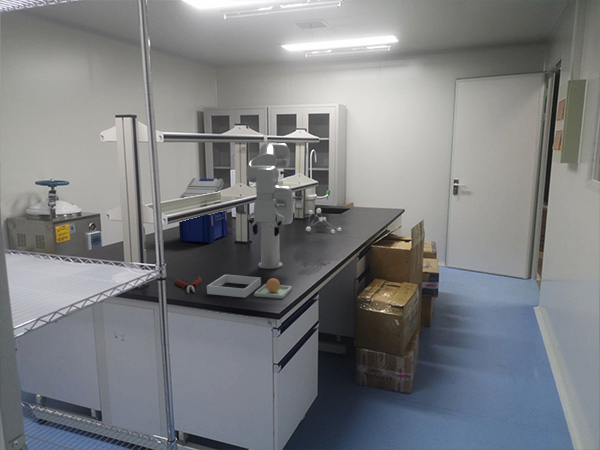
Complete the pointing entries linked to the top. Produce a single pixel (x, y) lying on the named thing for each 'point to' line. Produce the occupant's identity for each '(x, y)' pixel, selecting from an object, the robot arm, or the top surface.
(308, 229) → the molecule model
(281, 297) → the tray
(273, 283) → the ball
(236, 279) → the grey square frame
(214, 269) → the top surface
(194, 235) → the storage box
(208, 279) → the top surface
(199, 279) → the pliers
